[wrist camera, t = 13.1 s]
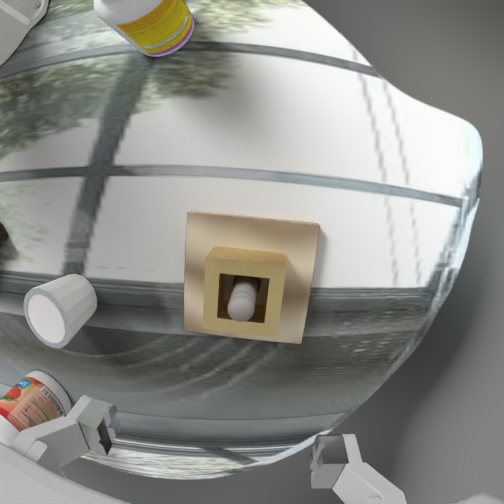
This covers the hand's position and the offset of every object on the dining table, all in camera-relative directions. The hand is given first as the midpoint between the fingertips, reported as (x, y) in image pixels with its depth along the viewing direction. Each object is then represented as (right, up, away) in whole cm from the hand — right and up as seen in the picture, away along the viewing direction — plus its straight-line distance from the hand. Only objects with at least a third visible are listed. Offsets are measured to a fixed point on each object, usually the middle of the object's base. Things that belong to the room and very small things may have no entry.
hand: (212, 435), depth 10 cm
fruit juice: (-31, -15, +27) cm, 44 cm away
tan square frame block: (+1, +4, +18) cm, 19 cm away
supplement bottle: (-7, +30, +15) cm, 34 cm away
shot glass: (-19, +2, +22) cm, 29 cm away
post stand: (+1, +5, +20) cm, 21 cm away
